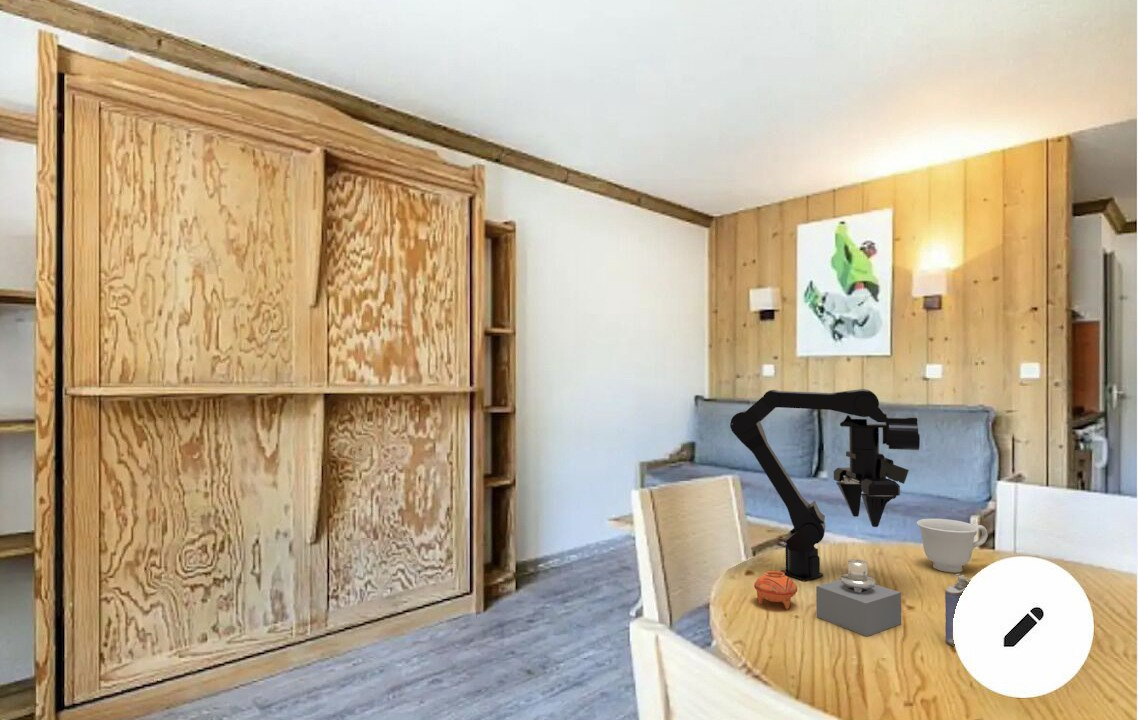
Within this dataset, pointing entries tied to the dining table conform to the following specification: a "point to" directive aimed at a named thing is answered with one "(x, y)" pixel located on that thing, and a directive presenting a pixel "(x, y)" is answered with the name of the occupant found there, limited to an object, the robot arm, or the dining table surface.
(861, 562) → the plunger
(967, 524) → the teacup
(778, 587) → the pot
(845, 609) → the box
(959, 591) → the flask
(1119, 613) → the dining table surface
